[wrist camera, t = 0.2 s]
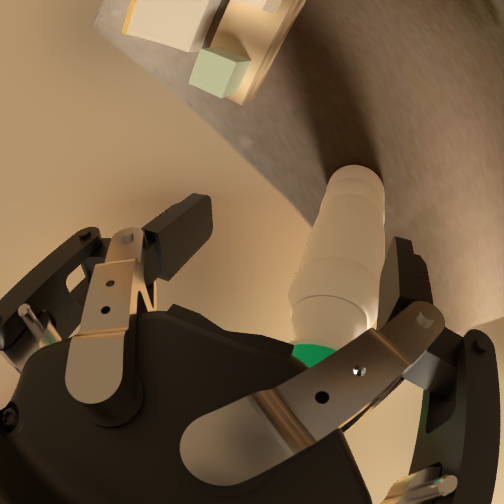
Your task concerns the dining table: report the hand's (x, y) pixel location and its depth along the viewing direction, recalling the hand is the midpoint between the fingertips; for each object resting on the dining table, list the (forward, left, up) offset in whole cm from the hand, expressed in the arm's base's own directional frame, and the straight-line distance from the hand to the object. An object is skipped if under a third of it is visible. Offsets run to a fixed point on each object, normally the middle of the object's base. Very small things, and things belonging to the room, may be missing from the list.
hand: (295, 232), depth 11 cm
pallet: (-4, -13, -22) cm, 26 cm away
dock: (-8, -25, -22) cm, 34 cm away
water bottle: (+7, +6, -22) cm, 24 cm away
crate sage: (+1, -13, -18) cm, 22 cm away
